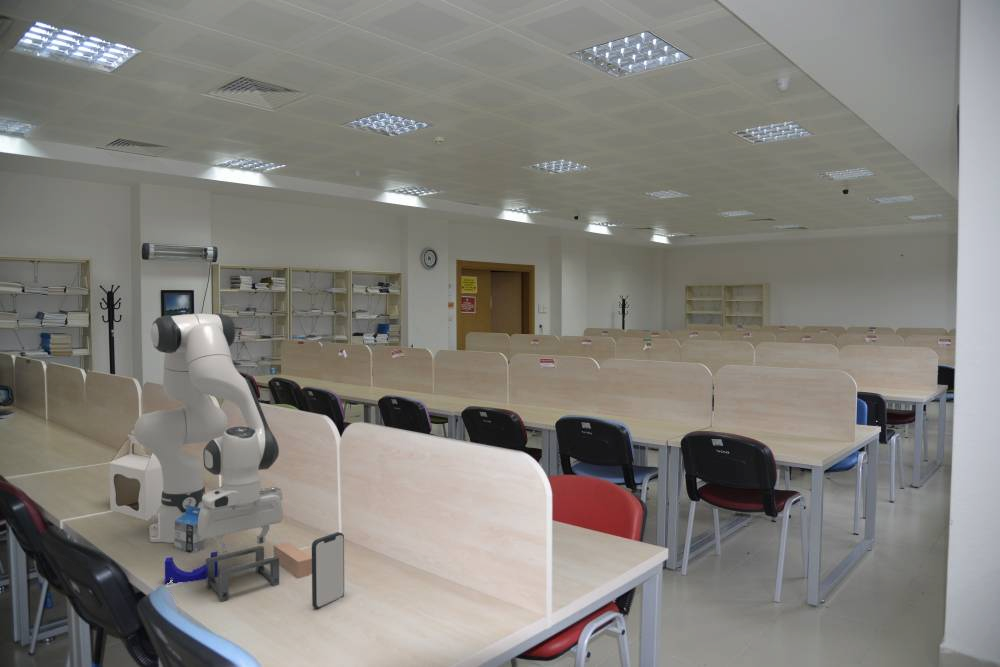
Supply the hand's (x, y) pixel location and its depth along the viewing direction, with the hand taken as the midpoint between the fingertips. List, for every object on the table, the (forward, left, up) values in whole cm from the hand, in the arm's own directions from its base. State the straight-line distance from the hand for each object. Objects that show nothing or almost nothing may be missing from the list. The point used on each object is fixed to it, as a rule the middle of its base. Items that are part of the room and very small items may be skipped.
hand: (242, 547), depth 161 cm
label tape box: (-35, -3, -10) cm, 36 cm away
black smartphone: (+23, +12, -10) cm, 28 cm away
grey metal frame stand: (0, 0, -10) cm, 10 cm away
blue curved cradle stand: (-14, -8, -10) cm, 19 cm away
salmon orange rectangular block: (-2, +14, -10) cm, 17 cm away
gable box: (-82, -4, -10) cm, 83 cm away
